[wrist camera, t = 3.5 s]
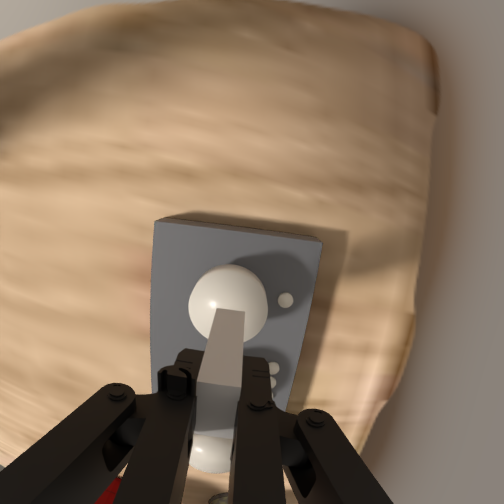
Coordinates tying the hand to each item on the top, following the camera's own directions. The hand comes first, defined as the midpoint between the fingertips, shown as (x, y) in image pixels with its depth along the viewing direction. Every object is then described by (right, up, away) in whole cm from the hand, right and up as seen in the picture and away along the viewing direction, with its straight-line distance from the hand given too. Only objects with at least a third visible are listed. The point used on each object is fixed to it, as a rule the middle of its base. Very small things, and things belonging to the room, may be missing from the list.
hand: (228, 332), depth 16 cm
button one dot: (0, +2, +7) cm, 7 cm away
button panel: (-1, -5, +10) cm, 11 cm away
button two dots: (-2, -13, +10) cm, 17 cm away
